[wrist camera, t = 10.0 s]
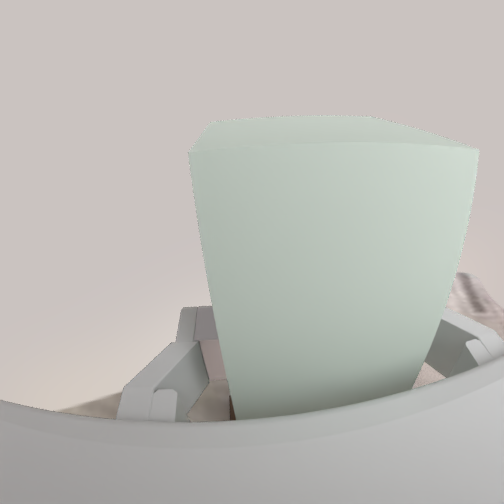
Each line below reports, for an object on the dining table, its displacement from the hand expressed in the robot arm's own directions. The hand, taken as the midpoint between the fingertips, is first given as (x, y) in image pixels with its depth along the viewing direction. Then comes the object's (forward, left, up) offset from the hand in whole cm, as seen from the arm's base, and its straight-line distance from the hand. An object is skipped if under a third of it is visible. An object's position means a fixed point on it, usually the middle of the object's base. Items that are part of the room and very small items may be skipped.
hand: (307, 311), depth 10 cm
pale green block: (0, -1, -8) cm, 8 cm away
